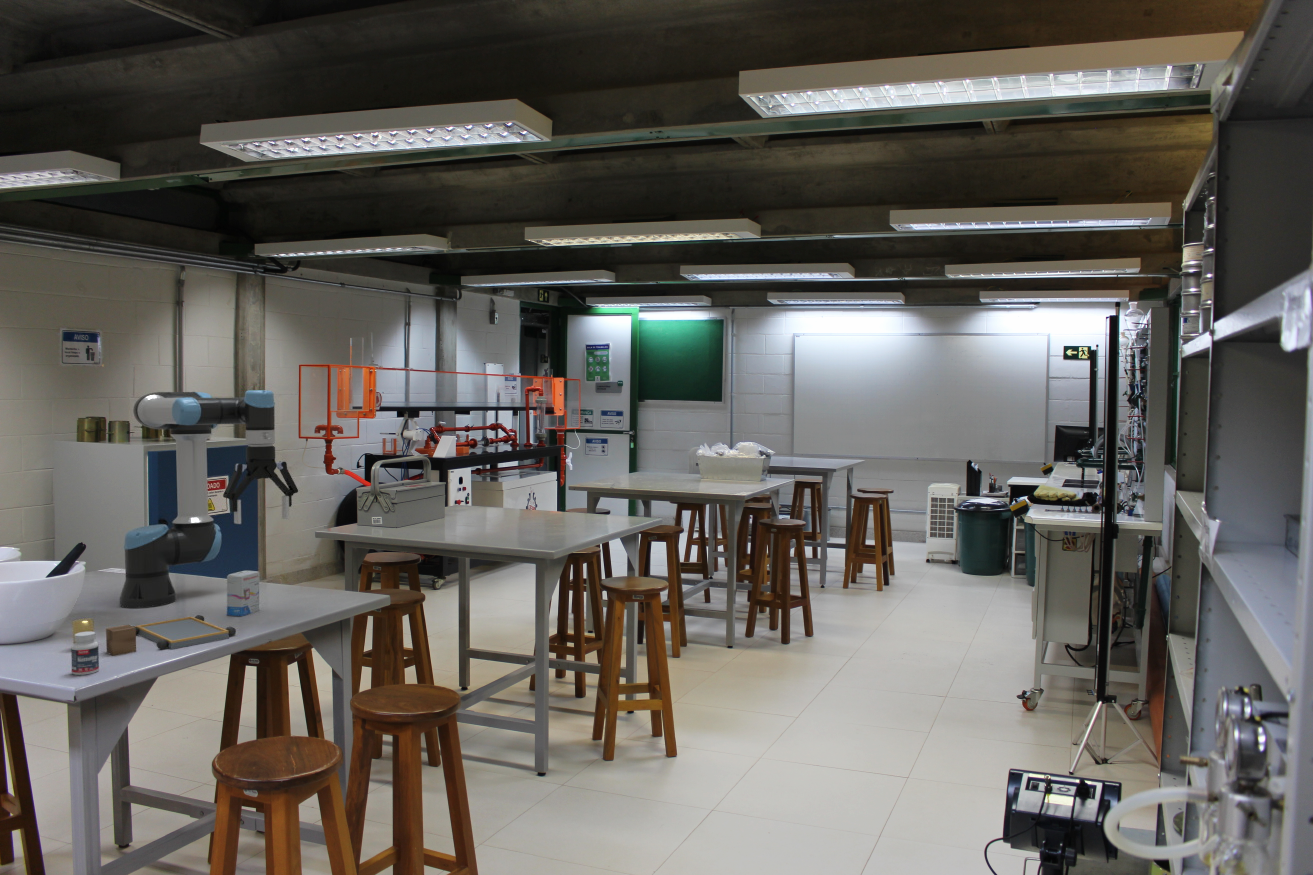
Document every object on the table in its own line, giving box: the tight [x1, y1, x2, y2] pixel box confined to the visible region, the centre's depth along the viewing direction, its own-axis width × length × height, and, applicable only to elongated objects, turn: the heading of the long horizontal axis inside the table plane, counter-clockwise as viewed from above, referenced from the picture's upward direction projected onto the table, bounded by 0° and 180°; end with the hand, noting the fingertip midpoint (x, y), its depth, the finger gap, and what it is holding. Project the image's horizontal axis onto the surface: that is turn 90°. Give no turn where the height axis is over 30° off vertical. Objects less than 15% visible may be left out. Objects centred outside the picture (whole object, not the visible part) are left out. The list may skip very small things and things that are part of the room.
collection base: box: [132, 614, 237, 650], centre depth 239 cm, size 24×19×2 cm
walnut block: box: [105, 624, 137, 657], centre depth 224 cm, size 5×5×6 cm
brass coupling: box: [72, 617, 95, 645], centre depth 228 cm, size 4×4×7 cm
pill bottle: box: [70, 631, 100, 676], centre depth 207 cm, size 5×5×9 cm
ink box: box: [226, 570, 260, 617], centre depth 265 cm, size 8×5×12 cm, turn 168°
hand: (262, 521), depth 256 cm, fingers open, 13 cm apart
